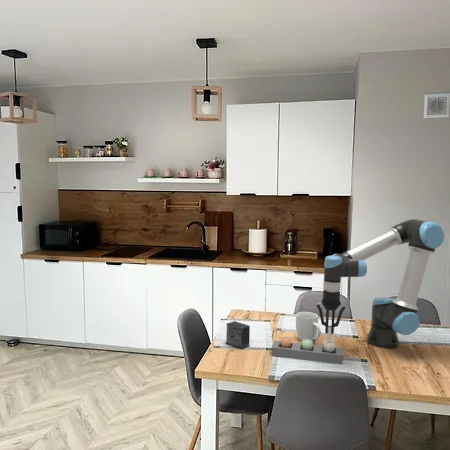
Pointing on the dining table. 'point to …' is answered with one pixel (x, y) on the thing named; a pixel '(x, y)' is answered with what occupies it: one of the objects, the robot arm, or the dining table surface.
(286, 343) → the key terracotta
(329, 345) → the key ivory
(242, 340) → the small box
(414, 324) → the robot arm
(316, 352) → the grey long block
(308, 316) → the mug
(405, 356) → the dining table surface
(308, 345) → the key sage
